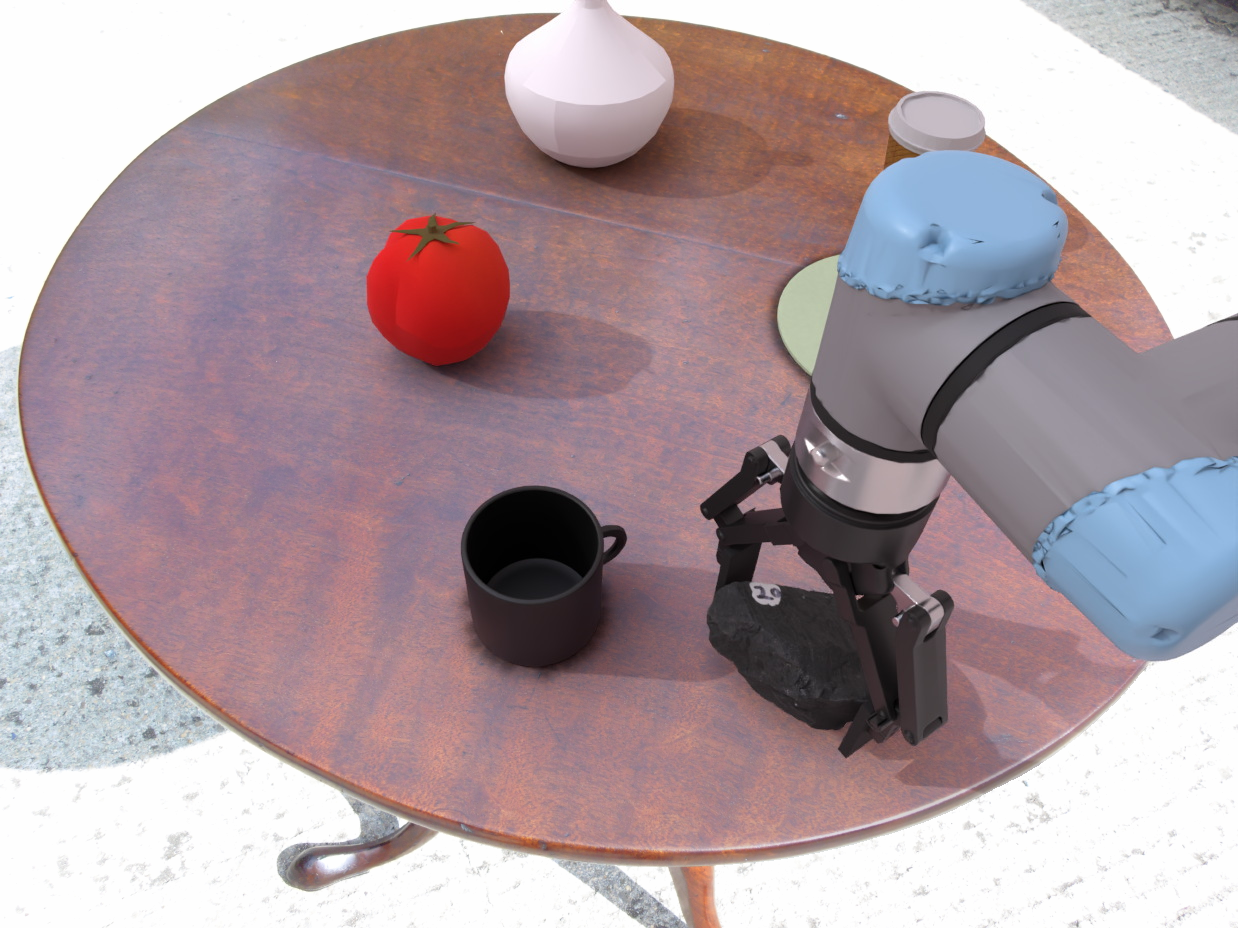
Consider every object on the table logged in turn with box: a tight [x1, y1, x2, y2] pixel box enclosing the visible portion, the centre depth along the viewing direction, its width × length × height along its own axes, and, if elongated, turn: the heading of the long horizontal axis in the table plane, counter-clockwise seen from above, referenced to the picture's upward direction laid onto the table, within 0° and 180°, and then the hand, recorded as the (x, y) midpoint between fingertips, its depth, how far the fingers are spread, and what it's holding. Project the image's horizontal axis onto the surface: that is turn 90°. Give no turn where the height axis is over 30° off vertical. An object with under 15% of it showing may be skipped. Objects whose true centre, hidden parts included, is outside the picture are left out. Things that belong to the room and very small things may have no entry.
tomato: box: [365, 212, 511, 367], centre depth 79 cm, size 12×12×13 cm
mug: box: [460, 484, 628, 667], centre depth 64 cm, size 9×12×9 cm
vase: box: [503, 0, 675, 169], centre depth 98 cm, size 18×18×19 cm
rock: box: [706, 581, 871, 731], centre depth 59 cm, size 9×10×6 cm
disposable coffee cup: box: [883, 90, 987, 170], centre depth 95 cm, size 10×10×12 cm
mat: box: [776, 253, 841, 377], centre depth 88 cm, size 22×22×1 cm
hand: (790, 665), depth 62 cm, fingers closed on rock, 12 cm apart
